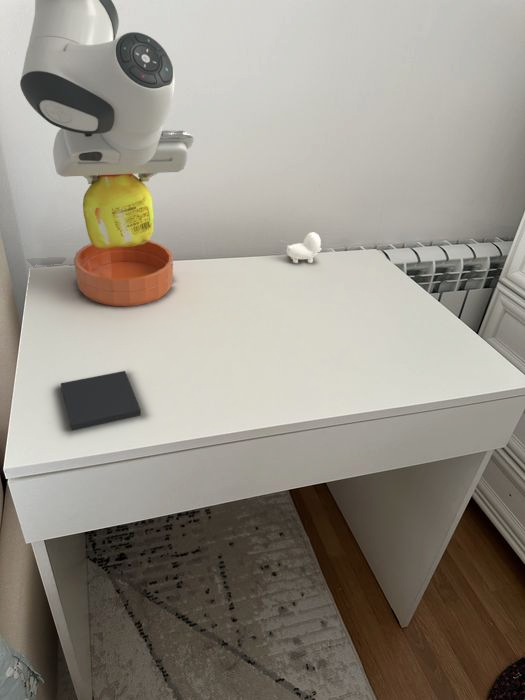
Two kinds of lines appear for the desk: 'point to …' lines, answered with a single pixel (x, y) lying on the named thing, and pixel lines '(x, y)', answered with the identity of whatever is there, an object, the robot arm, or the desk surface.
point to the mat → (99, 400)
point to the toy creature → (305, 248)
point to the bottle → (118, 211)
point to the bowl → (124, 273)
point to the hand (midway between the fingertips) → (117, 178)
